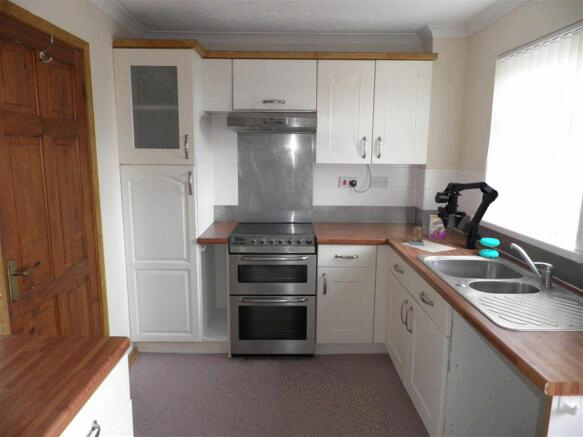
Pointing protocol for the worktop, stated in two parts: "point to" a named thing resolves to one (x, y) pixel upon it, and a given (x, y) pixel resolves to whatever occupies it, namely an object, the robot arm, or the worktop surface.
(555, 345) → the worktop surface
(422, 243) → the socket
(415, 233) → the walnut column
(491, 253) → the pair of cyan ovals
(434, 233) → the candy bar box
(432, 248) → the white rectangular sheet
